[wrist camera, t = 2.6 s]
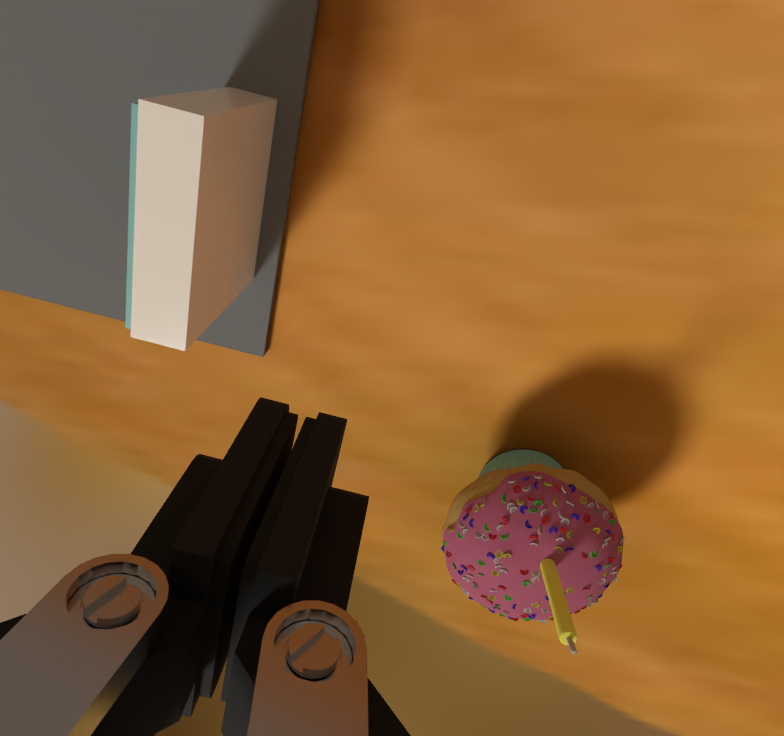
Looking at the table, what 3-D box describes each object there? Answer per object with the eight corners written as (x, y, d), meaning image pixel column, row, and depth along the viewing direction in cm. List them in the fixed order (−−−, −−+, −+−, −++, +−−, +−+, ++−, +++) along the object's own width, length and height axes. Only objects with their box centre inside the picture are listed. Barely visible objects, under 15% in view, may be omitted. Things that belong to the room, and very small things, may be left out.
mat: (-34, -99, 23) (-42, -101, 23) (319, -5, 24) (317, -5, 23) (-3, 284, 31) (-9, 286, 31) (265, 353, 31) (263, 357, 31)
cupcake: (474, 399, 31) (479, 578, 20) (632, 445, 31) (719, 644, 21) (426, 523, 35) (410, 726, 24) (567, 562, 35) (612, 780, 25)
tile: (223, 85, 25) (128, 96, 18) (277, 99, 25) (204, 116, 18) (206, 266, 29) (122, 334, 22) (253, 278, 29) (185, 351, 22)
